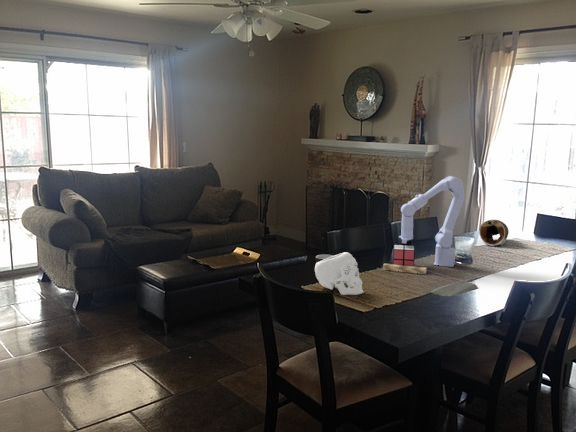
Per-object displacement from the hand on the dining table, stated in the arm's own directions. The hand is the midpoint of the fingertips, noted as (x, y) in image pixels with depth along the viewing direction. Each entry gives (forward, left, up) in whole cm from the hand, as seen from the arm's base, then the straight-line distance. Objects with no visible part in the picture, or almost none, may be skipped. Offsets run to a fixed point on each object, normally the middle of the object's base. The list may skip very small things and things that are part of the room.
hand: (406, 254), depth 259 cm
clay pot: (-40, -72, -5) cm, 82 cm away
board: (-2, +14, -5) cm, 15 cm away
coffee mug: (+28, +38, -5) cm, 48 cm away
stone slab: (-27, +35, -6) cm, 44 cm away
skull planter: (+18, +53, -5) cm, 57 cm away
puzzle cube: (0, +6, -5) cm, 8 cm away
